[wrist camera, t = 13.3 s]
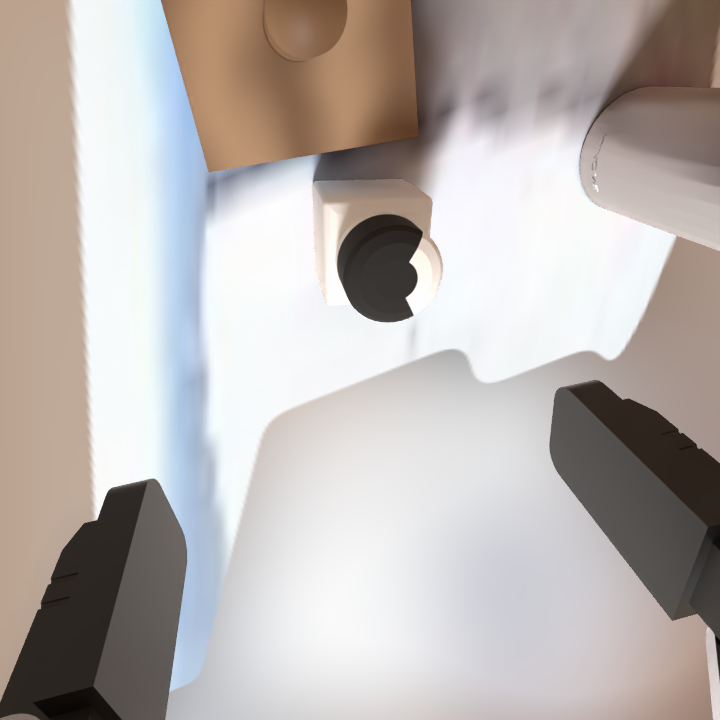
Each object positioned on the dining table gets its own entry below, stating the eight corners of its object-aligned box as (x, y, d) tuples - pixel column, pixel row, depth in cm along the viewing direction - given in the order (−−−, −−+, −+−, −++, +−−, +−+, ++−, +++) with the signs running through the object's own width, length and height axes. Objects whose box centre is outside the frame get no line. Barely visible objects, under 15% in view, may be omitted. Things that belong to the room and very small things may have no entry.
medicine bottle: (314, 272, 39) (336, 340, 29) (311, 179, 35) (334, 220, 25) (399, 267, 40) (449, 331, 30) (404, 177, 37) (462, 215, 26)
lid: (397, -151, 24) (453, -241, 17) (415, 135, 30) (459, 151, 24) (128, -123, 22) (76, -207, 16) (209, 170, 29) (196, 196, 23)
